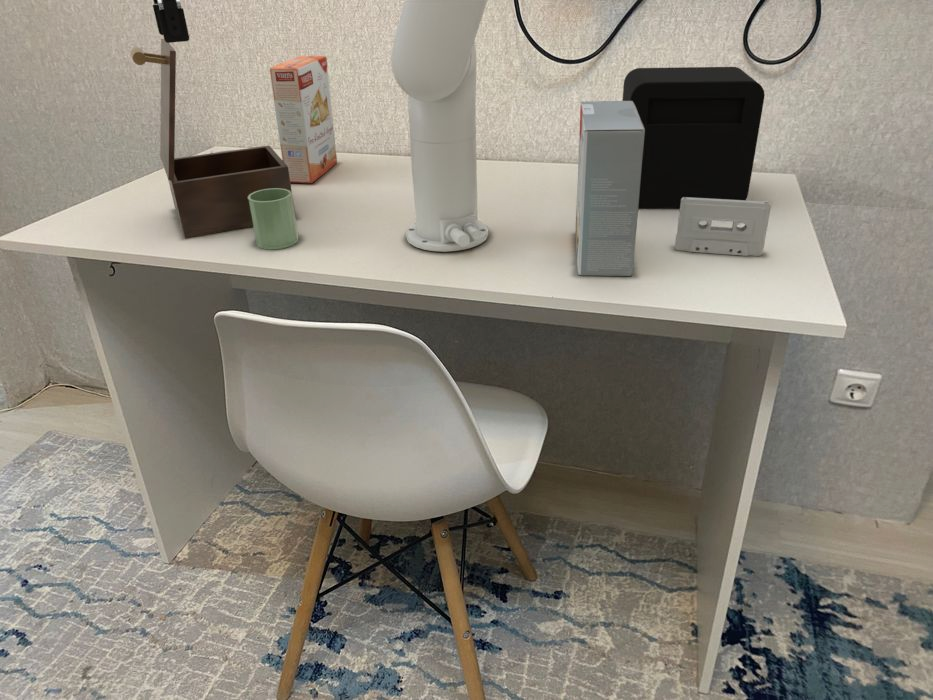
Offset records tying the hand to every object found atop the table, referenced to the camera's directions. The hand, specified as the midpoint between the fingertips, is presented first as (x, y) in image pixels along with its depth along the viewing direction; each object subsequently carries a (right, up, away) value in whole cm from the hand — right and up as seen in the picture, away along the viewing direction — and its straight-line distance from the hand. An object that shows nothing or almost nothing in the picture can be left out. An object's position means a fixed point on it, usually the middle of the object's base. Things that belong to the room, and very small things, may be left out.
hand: (174, 37), depth 104 cm
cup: (+12, -27, +11) cm, 32 cm away
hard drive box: (+61, -30, +3) cm, 68 cm away
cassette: (+77, -30, +2) cm, 83 cm away
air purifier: (+78, -17, +24) cm, 83 cm away
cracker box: (+11, -9, +42) cm, 44 cm away
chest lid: (-5, -7, +10) cm, 13 cm away
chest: (+2, -21, +22) cm, 30 cm away
